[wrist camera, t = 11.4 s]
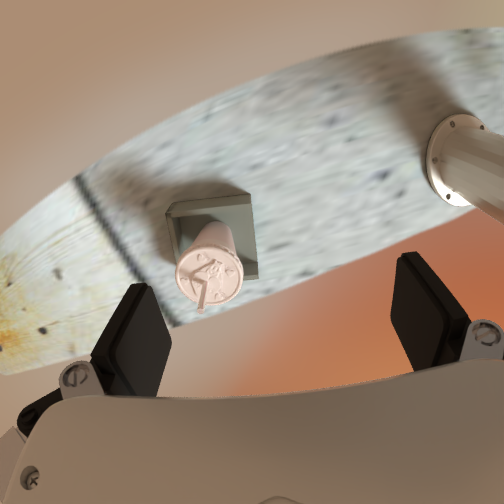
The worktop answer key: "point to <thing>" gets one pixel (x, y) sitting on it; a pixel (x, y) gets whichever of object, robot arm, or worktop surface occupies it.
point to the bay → (223, 210)
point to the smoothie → (210, 267)
